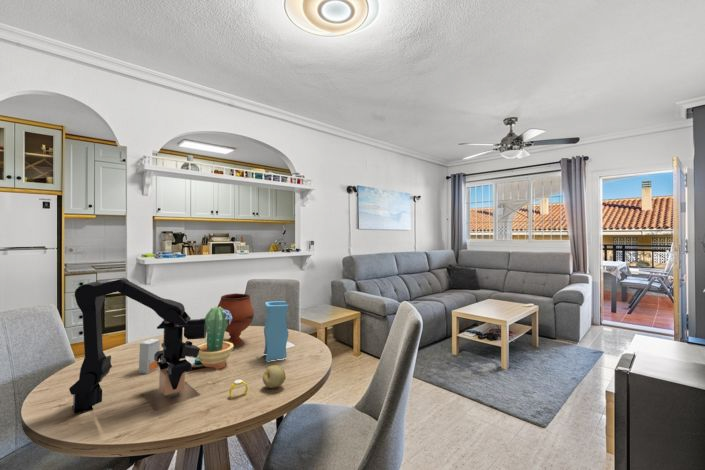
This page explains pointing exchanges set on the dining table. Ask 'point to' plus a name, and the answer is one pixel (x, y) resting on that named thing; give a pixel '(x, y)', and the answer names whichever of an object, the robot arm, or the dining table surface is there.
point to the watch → (237, 384)
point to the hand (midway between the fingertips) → (171, 385)
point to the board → (161, 400)
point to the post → (172, 394)
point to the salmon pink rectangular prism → (166, 385)
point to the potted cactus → (216, 339)
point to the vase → (276, 330)
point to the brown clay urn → (237, 315)
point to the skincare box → (148, 355)
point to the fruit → (274, 376)
